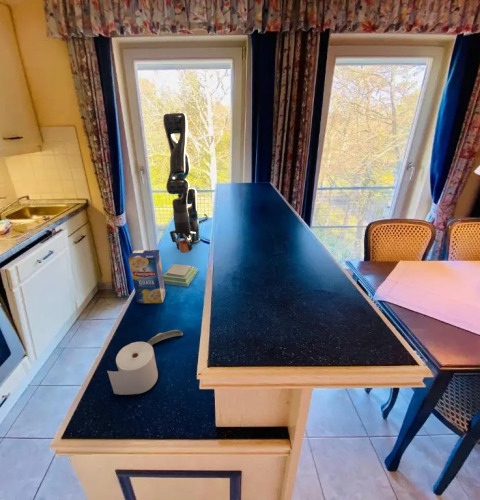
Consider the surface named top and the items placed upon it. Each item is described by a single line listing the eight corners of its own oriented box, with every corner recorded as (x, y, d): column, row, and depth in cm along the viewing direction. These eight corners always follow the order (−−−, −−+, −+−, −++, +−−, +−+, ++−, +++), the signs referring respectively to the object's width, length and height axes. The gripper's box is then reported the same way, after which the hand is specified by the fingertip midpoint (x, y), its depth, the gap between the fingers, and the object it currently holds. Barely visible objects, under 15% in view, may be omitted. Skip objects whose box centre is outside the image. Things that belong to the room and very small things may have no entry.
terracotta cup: (182, 247, 149) (181, 239, 147) (191, 248, 148) (190, 240, 146) (177, 252, 145) (176, 243, 142) (187, 253, 143) (186, 244, 141)
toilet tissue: (163, 368, 89) (159, 344, 84) (145, 402, 78) (139, 377, 74) (134, 362, 91) (128, 338, 87) (112, 394, 81) (105, 370, 77)
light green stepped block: (172, 268, 146) (172, 262, 144) (197, 271, 142) (197, 265, 140) (160, 283, 134) (159, 276, 132) (187, 286, 130) (186, 280, 128)
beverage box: (141, 293, 126) (133, 250, 116) (165, 293, 126) (159, 249, 116) (137, 303, 120) (127, 258, 110) (162, 303, 120) (155, 257, 110)
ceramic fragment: (145, 349, 96) (143, 341, 94) (142, 339, 100) (141, 331, 99) (184, 337, 101) (183, 329, 99) (180, 328, 105) (179, 320, 103)
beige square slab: (174, 266, 142) (174, 263, 141) (191, 268, 139) (190, 265, 138) (166, 275, 134) (166, 272, 133) (184, 277, 131) (183, 275, 131)
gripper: (197, 217, 140) (200, 247, 147) (171, 216, 143) (175, 245, 151) (192, 223, 133) (195, 254, 141) (164, 221, 137) (169, 251, 145)
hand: (184, 249), depth 146 cm, fingers closed on terracotta cup, 5 cm apart
